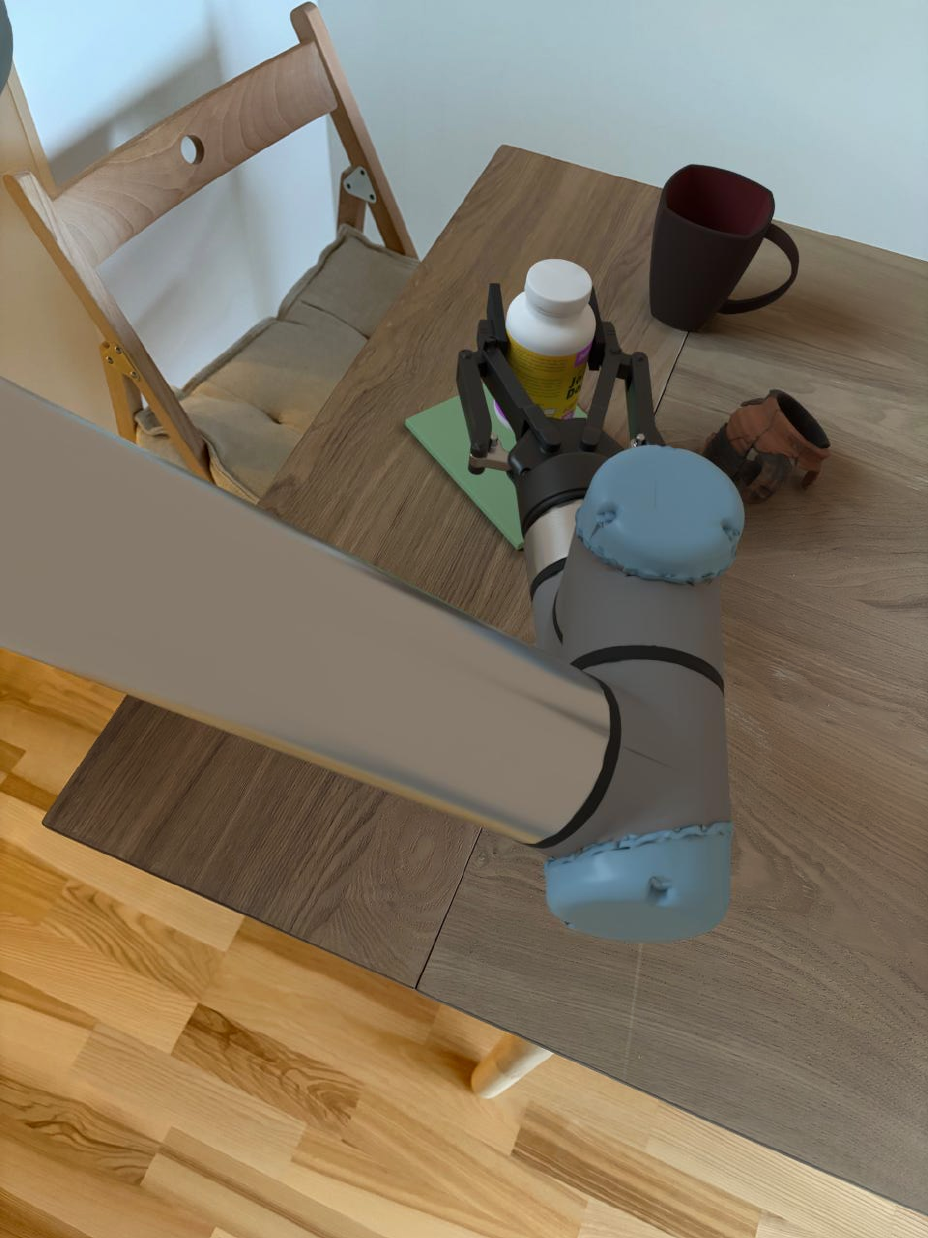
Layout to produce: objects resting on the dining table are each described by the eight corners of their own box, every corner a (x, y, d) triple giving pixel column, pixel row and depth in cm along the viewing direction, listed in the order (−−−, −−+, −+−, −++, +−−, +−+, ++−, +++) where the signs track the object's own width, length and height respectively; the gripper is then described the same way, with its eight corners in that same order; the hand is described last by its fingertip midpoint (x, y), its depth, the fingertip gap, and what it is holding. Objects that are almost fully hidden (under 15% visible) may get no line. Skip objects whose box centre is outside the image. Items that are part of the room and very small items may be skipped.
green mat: (404, 425, 81) (405, 418, 81) (530, 367, 87) (532, 360, 86) (517, 550, 75) (518, 544, 74) (645, 480, 80) (648, 474, 80)
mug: (650, 265, 96) (683, 153, 86) (779, 312, 94) (829, 203, 84) (617, 321, 91) (648, 209, 81) (753, 372, 89) (802, 264, 79)
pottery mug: (689, 428, 85) (759, 362, 80) (765, 487, 87) (836, 427, 82) (689, 502, 76) (767, 433, 71) (773, 566, 78) (855, 504, 73)
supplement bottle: (565, 450, 75) (598, 320, 64) (484, 431, 75) (503, 298, 64) (579, 393, 78) (612, 261, 68) (502, 375, 79) (522, 241, 68)
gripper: (426, 567, 63) (412, 334, 76) (707, 564, 65) (649, 338, 78) (432, 494, 57) (416, 253, 69) (743, 494, 59) (673, 260, 71)
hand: (539, 298), depth 74 cm, fingers closed on supplement bottle, 7 cm apart
